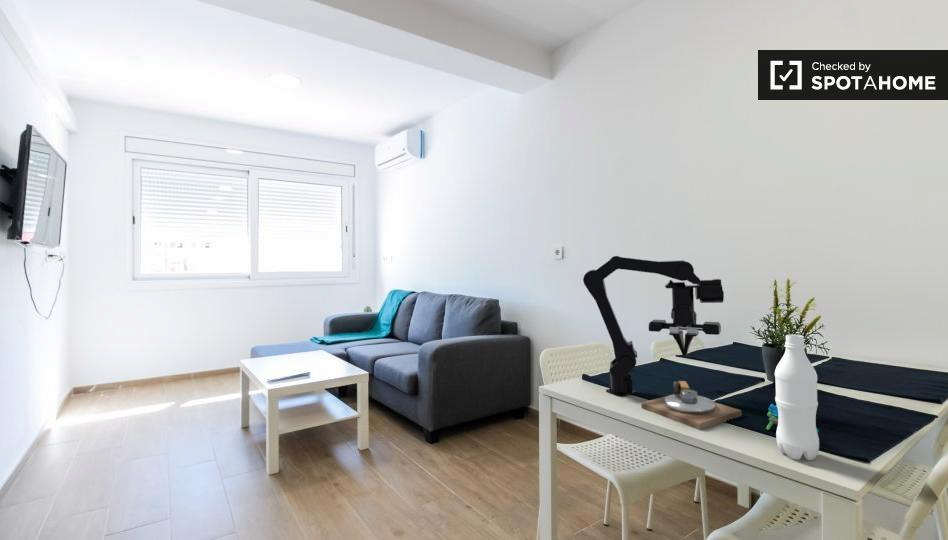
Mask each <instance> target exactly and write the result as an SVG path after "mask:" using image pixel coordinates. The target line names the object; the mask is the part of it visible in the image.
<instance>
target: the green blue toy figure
mask: <svg viewBox="0 0 948 540" xmlns="http://www.w3.org/2000/svg"><path fill="white" fill-rule="evenodd" d="M767 410H768V411H767V414H766V415H767V417H769V418H768V421H769V423H768V424H767V426H766V427H765V430H766V429H767V430H766V431H768V430H769V431H770V430H771V428H772V427H773V426H774V425H777V426H778V418H779V416H778V408H777V404H776V405H775V404H774V403H771V404H770V405H769V407H768V408H767ZM773 424H774V425H773ZM816 430H817V434H818V433H819V431H820V430H819V428H817V427H816Z"/></svg>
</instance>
